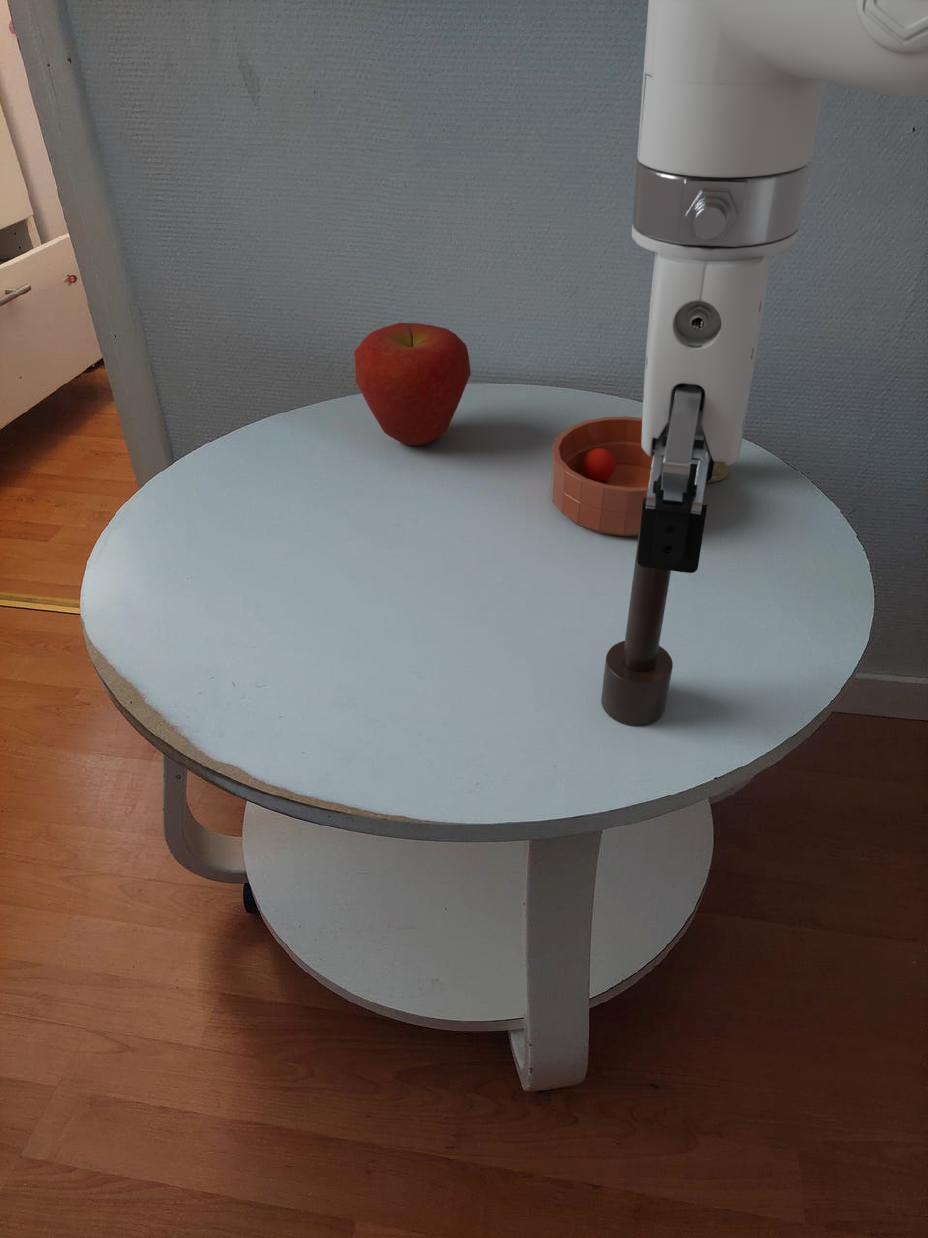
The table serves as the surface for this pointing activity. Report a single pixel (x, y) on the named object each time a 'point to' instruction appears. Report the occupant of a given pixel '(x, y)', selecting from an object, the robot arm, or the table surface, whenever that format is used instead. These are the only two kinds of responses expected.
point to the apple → (412, 379)
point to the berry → (599, 464)
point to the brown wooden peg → (640, 654)
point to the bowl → (614, 498)
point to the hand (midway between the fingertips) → (676, 519)
